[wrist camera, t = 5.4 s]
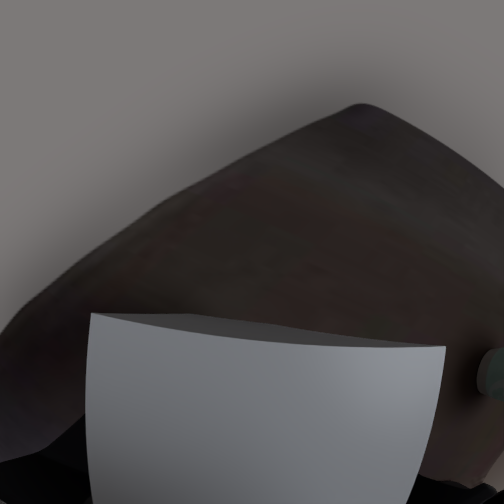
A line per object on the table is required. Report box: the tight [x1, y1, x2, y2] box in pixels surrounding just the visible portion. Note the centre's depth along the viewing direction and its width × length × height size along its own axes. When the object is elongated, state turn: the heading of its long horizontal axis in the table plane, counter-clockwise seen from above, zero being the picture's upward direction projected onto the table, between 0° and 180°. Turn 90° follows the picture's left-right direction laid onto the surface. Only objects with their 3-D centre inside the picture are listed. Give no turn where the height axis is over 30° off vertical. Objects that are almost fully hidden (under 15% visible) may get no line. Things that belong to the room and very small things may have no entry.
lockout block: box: [85, 313, 446, 504], centre depth 9 cm, size 4×4×14 cm
